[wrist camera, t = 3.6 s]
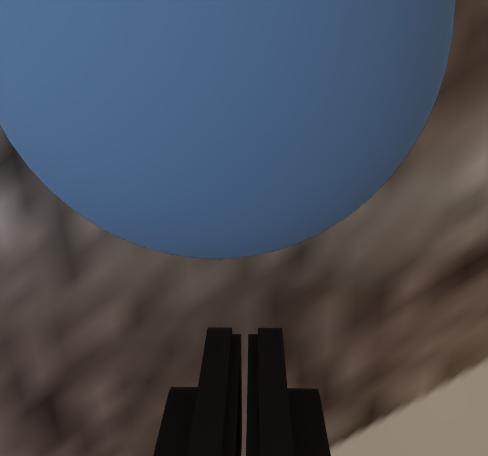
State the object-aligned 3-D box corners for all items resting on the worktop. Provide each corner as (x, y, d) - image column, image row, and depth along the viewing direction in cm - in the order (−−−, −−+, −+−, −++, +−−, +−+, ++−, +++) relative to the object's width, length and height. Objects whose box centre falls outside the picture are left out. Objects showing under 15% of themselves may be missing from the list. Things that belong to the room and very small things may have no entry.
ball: (189, 230, 11) (121, 438, 5) (13, -13, 9) (-401, -100, 3) (427, 91, 9) (682, 168, 4) (282, -231, 7) (372, -1031, 2)
